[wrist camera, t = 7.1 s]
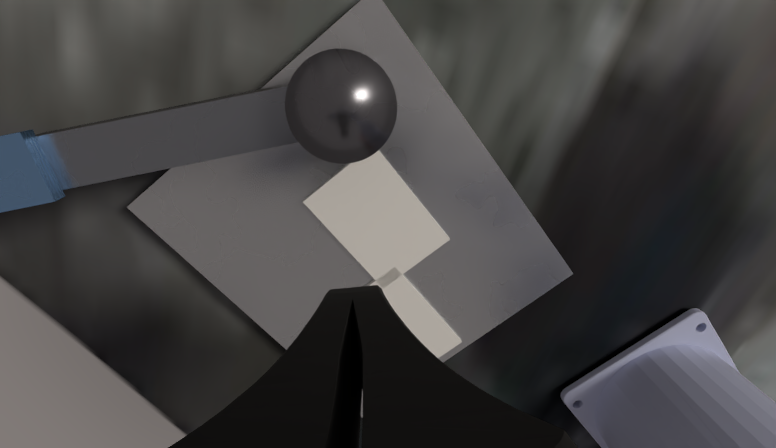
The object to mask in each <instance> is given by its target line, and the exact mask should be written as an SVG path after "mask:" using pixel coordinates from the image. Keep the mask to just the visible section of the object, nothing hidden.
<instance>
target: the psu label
mask: <svg viewBox="0 0 776 448" xmlns="http://www.w3.org/2000/svg"><path fill="white" fill-rule="evenodd" d="M303 203H304V204H305V205H306V206H307V207H308V208H309V209H310V210H311V211H312V213H313V214H314V215H315V216H316V217H317V218H318V219H319V220H320V221H321V222H322V223H323V224H324V225H325V227H326V228H327V229H328V230H329V231H330V232H331V233H332V234H333V235H334V236H335V237H336V238H337V239H338V240H339V242H340V243H341V244H342V245H343V246H344V247H345V248H346V249H347V250H348V251H349V252H350V253H351V254H352V256H353V257H354V258H355V259H356V260H357V261H358V262H359V263H360V264H361V265H362V266H363V267H364V268H365V270H366V271H367V272H368V273H369V274H370V275H371V276H372V277H373V278H374V279H375V280H377V279H379V278H380V277H382V276H383V277H385V276H384V274H386V273H387V272H388V271H392V270H391V269H392V268H394V267H395V268H396V269H397V270H398V271H399V272H400V273H401V274H402V275H403V274H404V273H405V272H407V271H408V270H409V269H411V268H412V267H413V266H415V265H416V264H417V263H419V262H420V261H422V260H423V259H424V258H426V257H427V256H428V255H430V254H431V253H432V252H434V251H435V250H436V249H438V248H439V247H441V246H442V245H443V244H445V243H446V242H447V241H449V240H450V238H449V237H448V236H447V234H446V233H445V232H444V231H443V229H442V228H441V227H440V226H439V224H438V223H437V222H436V221H435V220H434V218H433V217H432V216H431V215H430V213H429V212H428V211H427V210H426V208H425V207H424V206H423V205H422V203H421V202H420V201H419V200H418V198H417V197H416V196H415V195H414V193H413V192H412V191H411V190H410V189H409V187H408V186H407V185H406V184H405V182H404V181H403V180H402V179H401V177H400V176H399V175H398V174H397V172H396V171H395V170H394V169H393V167H392V166H391V165H390V164H389V162H388V161H387V160H386V159H385V158H384V156H383V155H382V154H381V153H380V151H379V150H378V151H377V152H376V153H374V154H373V155H371V156H370V157H368V158H366V159H364V160H361V161H358V162H354V163H349V164H348V165H346V166H345V167H344V168H343V169H341V170H340V171H339V172H338V173H336V174H335V175H334V176H333V177H332V178H330V179H329V180H328V181H327V182H325V183H324V184H323V185H322V186H320V187H319V188H318V189H317V190H315V191H314V192H313V193H312V194H311V195H309V196H308V197H307V198H306V199H304V200H303ZM393 272H394V271H393ZM395 273H396V272H395ZM387 274H388V273H387ZM389 275H391V274H389ZM391 276H393V275H391ZM400 276H401V275H400ZM394 277H395V276H394ZM385 278H387V277H385ZM395 278H397V277H395ZM388 279H389V278H388ZM380 280H381V279H380ZM390 280H391V279H390ZM381 281H383V282H385V283H387V282H386V281H384V280H381ZM391 281H392V280H391ZM388 284H389V283H388ZM380 285H381V284H380ZM382 286H383V287H386V286H384V285H382Z"/></svg>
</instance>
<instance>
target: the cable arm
mask: <svg viewBox="0 0 776 448" xmlns="http://www.w3.org/2000/svg"><path fill="white" fill-rule="evenodd" d="M396 117H397V98H396V94H395V90H394V87H393V84H392V82H391V80H390V78H389V77H388V75H387V74H386V72H385V71H384V70H383V68H382V67H381V66H380V65H379V64H378V63H376V62H375V61H374V60H373V59H371V58H370V57H368V56H367V55H365V54H362V53H360V52H357V51H354V50H350V49H338V48H336V49H329V50H325V51H321V52H319V53H317V54H314V55H313V56H311V57H309V58H308V59H307V60H305V61H304V62H303V63H302V64H301V65H300V66H299V67H298V68H297V70H296V71H295V72H294V74H293V75H292V77H291V79H290V81H289V84H284V85H279V86H274V87H269V88H264V89H259V90H254V91H249V92H244V93H239V94H234V95H229V96H224V97H219V98H214V99H209V100H204V101H199V102H194V103H189V104H184V105H179V106H174V107H169V108H164V109H159V110H154V111H149V112H144V113H139V114H134V115H129V116H124V117H119V118H114V119H109V120H104V121H99V122H94V123H89V124H84V125H79V126H74V127H69V128H64V129H59V130H54V131H49V132H44V133H40V134H36V135H35V133H34V131H33V129H32V130H27V131H22V132H17V133H12V134H7V135H2V136H0V213H1V212H6V211H11V210H16V209H21V208H26V207H31V206H36V205H41V204H45V203H50V202H55V201H57V200H59V199H61V198H63V197H65V195H64V193H63V190H65V189H70V188H75V187H80V186H85V185H90V184H95V183H100V182H105V181H110V180H115V179H120V178H125V177H130V176H134V175H139V174H144V173H149V172H154V171H159V170H164V169H169V168H174V167H179V166H184V165H189V164H194V163H199V162H204V161H209V160H214V159H219V158H224V157H229V156H234V155H239V154H243V153H248V152H253V151H258V150H263V149H268V148H273V147H278V146H283V145H288V144H293V143H298V142H299V144H300V145H301V146H302V147H303V148H304V149H305V150H306V151H308V152H309V153H311V154H312V155H314V156H315V157H317V158H319V159H322V160H324V161H327V162H331V163H338V164H348V163H354V162H358V161H361V160H364V159H366V158H368V157H370V156H371V155H373V154H374V153H376V152H377V151H378V150H379V149H380V148H381V147H382V146H383V145H384V144H385V143H386V141H387V140H388V138H389V137H390V135H391V133H392V131H393V128H394V126H395V122H396Z"/></svg>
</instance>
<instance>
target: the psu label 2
mask: <svg viewBox="0 0 776 448" xmlns="http://www.w3.org/2000/svg"><path fill="white" fill-rule="evenodd" d="M391 270H392V271H388V272H387V273H388V274H387V273H386V274H384V276H385V277H387V278H385V277H383V276H382V277H380V278H379V279H377V280H375V279H374V280H373V281H371V282H370V283H369V284H367V285H366V286H372V285H378V286H379V287H380V288H382V291H383V293H384V295H385V297H386V299H387V300H388V302H389V303H390V305H391V306H392V308H393V309H394V311H395V312H396V313H397V315H398V316H399V317H400V319H401V320H402V321H403V322H404V324H405V325H406V326H407V327H408V328H409V330H410V331H411V332H412V333H413V334H414V335H415V336H416V337H417V338H418V339H419V340H420V342H421V343H422V344H423V345H424V346H425V347H426V348H427V349H428V350H429V351H431V352H432V353H433V354H434V355H435V356H436V357H437V358H439V357H441V356H442V355H444V354H445V353H447V352H448V351H450V350H451V349H453V348H454V347H455V346H457V345H458V344H460V343H461V342H462V341H461V339H460V338H459V337H458V336H457V334H456V333H455V332H454V331H453V330H452V329H451V328H450V327H449V325H448V324H447V323H446V322H445V321H444V320H443V319H442V318H441V316H440V315H439V314H438V313H437V312H436V311H435V310H434V309H433V307H432V306H431V305H430V304H429V303H428V302H427V301H426V300H425V299H424V297H423V296H422V295H421V294H420V293H419V292H418V291H417V290H416V288H415V287H414V286H413V285H412V284H411V283H410V282H409V281H408V279H407V278H406V277H405V276H404V275H402V274H401V273H400V272H399V271H398V270H397V269H396V268H395V267H394V268H392V269H391ZM393 271H394V272H393ZM395 272H396V273H395ZM389 274H391V275H393V276H391V275H389ZM400 275H401V276H400ZM394 276H395V277H397V278H395V277H394ZM388 278H389V279H388ZM380 279H381V280H384V281H386V282H387V283H385V282H383V281H381V280H380ZM390 279H391V280H392V281H391V280H390ZM388 283H389V284H388ZM380 284H381V285H380ZM382 285H384V286H386V287H383V286H382Z"/></svg>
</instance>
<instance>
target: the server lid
mask: <svg viewBox="0 0 776 448" xmlns="http://www.w3.org/2000/svg"><path fill="white" fill-rule="evenodd" d="M336 48H338V49H350V50H354V51H357V52H360V53H362V54H365V55H367V56H368V57H370V58H371V59H373V60H374V61H375V62H376V63H378V64H379V65H380V66H381V67H382V68H383V70H384V71H385V72H386V74H387V75H388V77H389V78H390V80H391V82H392V84H393V87H394V90H395V94H396V98H397V117H396V122H395V126H394V128H393V131H392V133H391V135H390V137H389V138H388V140H387V141H386V143H385V144H384V145H383V146H382V147H381V148H380V149H379V151H380V153H381V154H382V155H383V156H384V158H385V159H386V160H387V161H388V162H389V164H390V165H391V166H392V167H393V169H394V170H395V171H396V172H397V174H398V175H399V176H400V177H401V179H402V180H403V181H404V182H405V184H406V185H407V186H408V187H409V189H410V190H411V191H412V192H413V193H414V195H415V196H416V197H417V198H418V200H419V201H420V202H421V203H422V205H423V206H424V207H425V208H426V210H427V211H428V212H429V213H430V215H431V216H432V217H433V218H434V220H435V221H436V222H437V223H438V224H439V226H440V227H441V228H442V229H443V231H444V232H445V233H446V234H447V236H448V237H449V238H450V240H449V241H447V242H446V243H445V244H443V245H442V246H441V247H439V248H438V249H436V250H435V251H434V252H432V253H431V254H430V255H428V256H427V257H426V258H424V259H423V260H422V261H420V262H419V263H417V264H416V265H415V266H413V267H412V268H411V269H409V270H408V271H407V272H405V273H404V274H403V275H404V276H405V277H406V278H407V279H408V281H409V282H410V283H411V284H412V285H413V286H414V287H415V288H416V290H417V291H418V292H419V293H420V294H421V295H422V296H423V297H424V299H425V300H426V301H427V302H428V303H429V304H430V305H431V306H432V307H433V309H434V310H435V311H436V312H437V313H438V314H439V315H440V316H441V318H442V319H443V320H444V321H445V322H446V323H447V324H448V325H449V327H450V328H451V329H452V330H453V331H454V332H455V333H456V334H457V336H458V337H459V338H460V339H461V341H462V342H461V343H460V344H458V345H457V346H455V347H454V348H453V349H451V350H450V351H448V352H447V353H445V354H444V355H442V356H441V357H439V358H438V359H440V360H441V361H442V362H444V361H446V360H447V359H449V358H450V357H452V356H453V355H455V354H456V353H458V352H459V351H461V350H462V349H464V348H465V347H466V346H468V345H469V344H471V343H472V342H474V341H475V340H477V339H478V338H480V337H481V336H483V335H484V334H486V333H487V332H488V331H490V330H491V329H493V328H494V327H496V326H497V325H499V324H500V323H502V322H503V321H505V320H506V319H508V318H509V317H511V316H512V315H513V314H515V313H516V312H518V311H519V310H521V309H522V308H524V307H525V306H527V305H528V304H530V303H531V302H533V301H534V300H536V299H537V298H538V297H540V296H541V295H543V294H544V293H546V292H547V291H549V290H550V289H552V288H553V287H555V286H556V285H558V284H559V283H560V282H562V281H563V280H565V279H566V278H568V277H569V276H571V275H572V274H573V273H572V271H571V270H570V268H569V267H568V265H567V264H566V263H565V261H564V260H563V258H562V257H561V255H560V254H559V253H558V251H557V250H556V248H555V247H554V245H553V244H552V243H551V241H550V240H549V238H548V237H547V235H546V234H545V233H544V231H543V230H542V228H541V227H540V225H539V224H538V223H537V221H536V220H535V218H534V217H533V215H532V214H531V213H530V211H529V210H528V208H527V207H526V205H525V204H524V203H523V201H522V200H521V198H520V197H519V195H518V194H517V193H516V191H515V190H514V188H513V187H512V185H511V184H510V182H509V181H508V180H507V178H506V177H505V175H504V174H503V172H502V171H501V170H500V168H499V167H498V165H497V164H496V162H495V161H494V160H493V158H492V157H491V155H490V154H489V152H488V151H487V150H486V148H485V147H484V145H483V144H482V142H481V141H480V140H479V138H478V137H477V135H476V134H475V132H474V131H473V130H472V128H471V127H470V125H469V124H468V122H467V121H466V120H465V118H464V117H463V115H462V114H461V112H460V111H459V110H458V108H457V107H456V105H455V104H454V102H453V101H452V100H451V98H450V97H449V95H448V94H447V92H446V91H445V89H444V88H443V87H442V85H441V84H440V82H439V81H438V79H437V78H436V77H435V75H434V74H433V72H432V71H431V69H430V68H429V67H428V65H427V64H426V62H425V61H424V59H423V58H422V57H421V55H420V54H419V52H418V51H417V49H416V48H415V47H414V45H413V44H412V42H411V41H410V39H409V38H408V37H407V35H406V34H405V32H404V31H403V29H402V28H401V27H400V25H399V24H398V22H397V21H396V19H395V18H394V17H393V15H392V14H391V12H390V11H389V9H388V8H387V7H386V5H385V4H384V2H383V1H382V0H360V1H359V2H358V3H357V4H356V5H355V6H354V7H353V8H351V9H350V10H349V11H348V12H347V13H346V14H345V15H344V16H342V17H341V18H340V19H339V20H338V21H337V22H336V23H334V24H333V25H332V26H331V27H330V28H329V29H328V30H327V31H325V32H324V33H323V34H322V35H321V36H320V37H319V38H318V39H316V40H315V41H314V42H313V43H312V44H311V45H310V46H308V47H307V48H306V49H305V50H304V51H303V52H302V53H301V54H299V55H298V56H297V57H296V58H295V59H294V60H293V61H292V62H290V63H289V64H288V65H287V66H286V67H285V68H284V69H282V70H281V71H280V72H279V73H278V74H277V75H276V76H275V77H273V78H272V79H271V80H270V81H269V82H268V83H267V84H265V85H264V86H263V87H262V88H261V89H264V88H269V87H274V86H279V85H284V84H289V81H290V79H291V77H292V75H293V74H294V72H295V71H296V70H297V68H298V67H299V66H300V65H301V64H302V63H303V62H304V61H305V60H307V59H308V58H309V57H311V56H313V55H314V54H317V53H319V52H321V51H325V50H329V49H336ZM348 164H349V163H348ZM348 164H338V163H331V162H327V161H324V160H322V159H319V158H317V157H315V156H314V155H312V154H311V153H309V152H308V151H306V150H305V149H304V148H303V147H302V146H301V145H300V144H299V142H298V143H293V144H288V145H283V146H278V147H273V148H268V149H263V150H258V151H253V152H248V153H243V154H239V155H234V156H229V157H224V158H219V159H214V160H209V161H204V162H199V163H194V164H189V165H184V166H179V167H174V168H170V169H169V170H168V171H167V172H166V173H165V174H164V175H163V176H161V177H160V178H159V179H158V180H157V181H156V182H155V183H154V184H152V185H151V186H150V187H149V188H148V189H147V190H146V191H144V192H143V193H142V194H141V195H140V196H139V197H138V198H137V199H135V200H134V201H133V202H132V203H131V204H130V205H129V206H128V207H127V208H128V209H129V210H130V211H131V212H132V213H134V214H135V215H136V216H137V217H138V218H139V219H140V220H141V221H143V222H144V223H145V224H146V225H147V226H148V227H149V228H150V229H152V230H153V231H154V232H155V233H156V234H157V235H158V236H159V237H160V238H162V239H163V240H164V241H165V242H166V243H167V244H168V245H169V246H171V247H172V248H173V249H174V250H175V251H176V252H177V253H178V254H180V255H181V256H182V257H183V258H184V259H185V260H186V261H187V262H189V263H190V264H191V265H192V266H193V267H194V268H195V269H196V270H197V271H199V272H200V273H201V274H202V275H203V276H204V277H205V278H206V279H208V280H209V281H210V282H211V283H212V284H213V285H214V286H215V287H217V288H218V289H219V290H220V291H221V292H222V293H223V294H224V295H225V296H227V297H228V298H229V299H230V300H231V301H232V302H233V303H234V304H236V305H237V306H238V307H239V308H240V309H241V310H242V311H243V312H245V313H246V314H247V315H248V316H249V317H250V318H251V319H252V320H254V321H255V322H256V323H257V324H258V325H259V326H260V327H261V328H262V329H264V330H265V331H266V332H267V333H268V334H269V335H270V336H271V337H273V338H274V339H275V340H276V341H277V342H278V343H279V344H280V345H282V346H283V347H284V348H285V349H286V350H287V349H288V347H289V346H290V345H291V344H292V343H293V341H294V340H295V339H296V338H297V336H298V335H299V334H300V332H301V331H302V330H303V328H304V327H305V326H306V324H307V323H308V321H309V320H310V319H311V317H312V316H313V314H314V313H315V311H316V310H317V308H318V306H319V305H320V303H321V302H322V300H323V298H324V296H325V295H326V293H327V292H328V291H329V290H330V289H340V288H351V287H361V286H366V285H367V284H369V283H370V282H371V281H373V280H374V278H373V277H372V276H371V275H370V274H369V273H368V272H367V271H366V270H365V268H364V267H363V266H362V265H361V264H360V263H359V262H358V261H357V260H356V259H355V258H354V257H353V256H352V254H351V253H350V252H349V251H348V250H347V249H346V248H345V247H344V246H343V245H342V244H341V243H340V242H339V240H338V239H337V238H336V237H335V236H334V235H333V234H332V233H331V232H330V231H329V230H328V229H327V228H326V227H325V225H324V224H323V223H322V222H321V221H320V220H319V219H318V218H317V217H316V216H315V215H314V214H313V213H312V211H311V210H310V209H309V208H308V207H307V206H306V205H305V204H304V203H303V200H304V199H306V198H307V197H308V196H309V195H311V194H312V193H313V192H314V191H315V190H317V189H318V188H319V187H320V186H322V185H323V184H324V183H325V182H327V181H328V180H329V179H330V178H332V177H333V176H334V175H335V174H336V173H338V172H339V171H340V170H341V169H343V168H344V167H345V166H346V165H348ZM361 417H363V390H362V400H361Z"/></svg>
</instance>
